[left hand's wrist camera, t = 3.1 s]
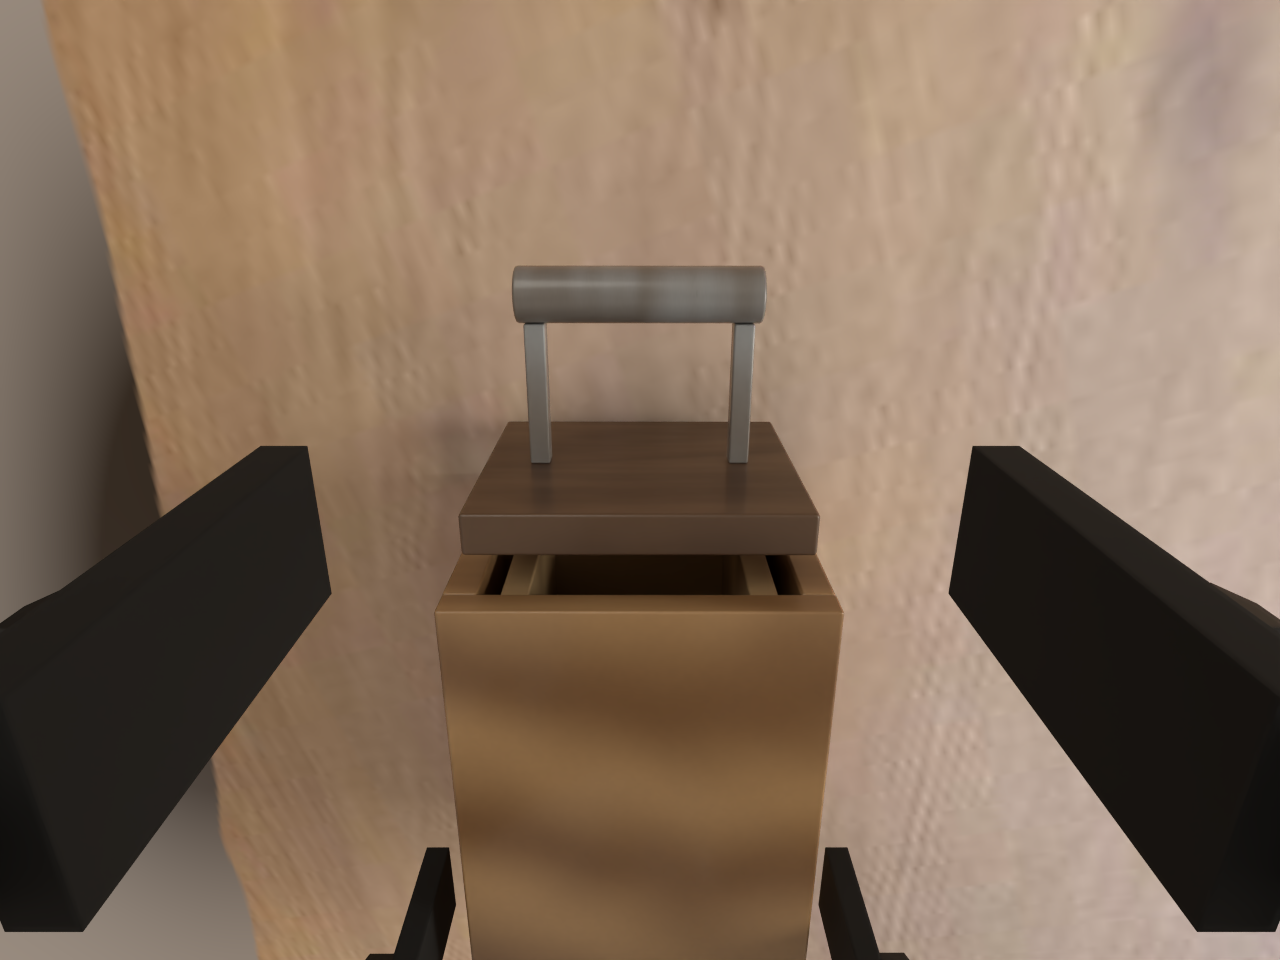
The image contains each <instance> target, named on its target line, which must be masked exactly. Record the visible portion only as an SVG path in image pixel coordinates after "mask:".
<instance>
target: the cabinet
mask: <svg viewBox="0 0 1280 960" xmlns="http://www.w3.org/2000/svg"><path fill="white" fill-rule="evenodd" d="M513 556H514V555H464V554H463V553H462V554H461V556H460V558H459V560H458V563H457V565H456V567H455V569H454V571H453V573H452V575H451V577H450V579H449V582H448V584H447V586H446V588H445V590H444V592H443V596H442V597H441V599H440V602H439V604H438V606H437V608H436V610H435V613H434V614H435V623H436V633H437V642H438V651H439V660H440V669H441V679H442V688H443V697H444V706H445V715H446V724H447V734H448V743H449V752H450V761H451V770H452V779H453V789H454V798H455V807H456V816H457V825H458V834H459V844H460V853H461V862H462V871H463V880H464V890H465V899H466V908H467V917H468V926H469V935H470V945H471V954H472V960H806V954H807V945H808V936H809V926H810V917H811V908H812V899H813V890H814V881H815V872H816V863H817V854H818V844H819V835H820V826H821V817H822V808H823V799H824V790H825V781H826V772H827V763H828V753H829V744H830V735H831V726H832V717H833V708H834V699H835V690H836V681H837V672H838V662H839V653H840V644H841V635H842V626H843V617H844V612H843V610H842V608H841V606H840V603H839V601H838V599H837V597H836V596H835V593H834V591H833V589H832V587H831V585H830V583H829V580H828V578H827V576H826V574H825V572H824V570H823V568H822V565H821V563H820V561H819V559H818V557H817V555H816V554H815V555H765V557H766V560H767V563H768V566H769V569H770V572H771V576H772V579H773V582H774V585H775V588H776V591H777V594H778V595H501V592H502V589H503V586H504V583H505V580H506V577H507V574H508V571H509V568H510V565H511V562H512V559H513Z"/></svg>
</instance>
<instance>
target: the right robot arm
mask: <svg viewBox="0 0 1280 960" xmlns="http://www.w3.org/2000/svg"><path fill="white" fill-rule="evenodd" d="M455 907H456V901H455V893H454V884H453V876H452V868H451V859H450V851H449V848H427V849H426V853H425V856H424V859H423V862H422V865H421V869H420V872H419V875H418V878H417V882H416V885H415V888H414V891H413V895H412V898H411V901H410V904H409V907H408V911H407V914H406V917H405V920H404V924H403V927H402V930H401V933H400V936H399V940H398V943H397V946H396V949H395V953H394V954H370V955H369V956H368V957H367V958H366V960H442V959H443V955H444V951H445V947H446V943H447V939H448V935H449V931H450V927H451V923H452V919H453V915H454V911H455ZM819 908H820V913H821V917H822V921H823V925H824V929H825V933H826V937H827V942H828V946H829V950H830V954H831V958H832V960H909V959H908V957H907V956H906V955H905V954H904V953H879V950H878V947H877V943H876V940H875V937H874V934H873V930H872V927H871V924H870V920H869V917H868V914H867V910H866V907H865V904H864V901H863V897H862V894H861V891H860V887H859V884H858V881H857V878H856V874H855V871H854V868H853V864H852V861H851V858H850V855H849V851H848V848H825V855H824V864H823V872H822V880H821V889H820V897H819Z"/></svg>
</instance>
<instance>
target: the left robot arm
mask: <svg viewBox="0 0 1280 960" xmlns="http://www.w3.org/2000/svg"><path fill="white" fill-rule="evenodd" d="M330 595H331V587H330V581H329V575H328V569H327V563H326V557H325V551H324V545H323V539H322V533H321V526H320V520H319V514H318V508H317V502H316V496H315V490H314V484H313V478H312V471H311V465H310V459H309V453H308V447H307V446H260V447H259V448H257V449H256V450H254V451H253V452H252V453H250V454H249V455H248V456H246V457H245V458H243V459H242V460H241V461H239V462H238V463H236V464H235V465H234V466H232V467H231V468H229V469H228V470H227V471H225V472H224V473H222V474H221V475H220V476H218V477H217V478H216V479H214V480H213V481H211V482H210V483H209V484H207V485H206V486H204V487H203V488H202V489H200V490H199V491H197V492H196V493H195V494H193V495H192V496H190V497H189V498H188V499H186V500H185V501H183V502H182V503H181V504H179V505H178V506H177V507H175V508H174V509H172V510H171V511H170V512H168V513H167V514H165V515H164V516H163V517H161V518H160V519H158V520H157V521H156V522H154V523H153V524H151V525H150V526H149V527H147V528H146V529H145V530H143V531H142V532H140V533H139V534H138V535H136V536H135V537H133V538H132V539H131V540H129V541H128V542H126V543H125V544H124V545H122V546H121V547H120V548H118V549H117V550H115V551H114V552H113V553H111V554H110V555H108V556H107V557H106V558H104V559H103V560H101V561H100V562H99V563H97V564H96V565H94V566H93V567H92V568H90V569H89V570H88V571H86V572H85V573H83V574H82V575H80V576H79V577H78V578H76V579H75V580H74V581H72V582H71V583H69V584H68V585H67V586H65V587H64V588H62V589H61V590H59V591H57V592H55V593H53V594H51V595H48V596H46V597H44V598H42V599H40V600H37V601H35V602H33V603H31V604H29V605H26V606H24V607H23V608H21V609H20V610H18V611H17V612H16V613H14V614H13V615H11V616H10V617H9V618H7V619H6V620H4V621H3V622H1V623H0V921H1V924H2V926H3V929H4V931H5V932H83V931H84V930H85V928H86V927H87V925H88V924H89V923H90V921H91V920H92V919H93V917H94V916H95V915H96V913H97V912H98V911H99V909H100V908H101V907H102V905H103V904H104V902H105V901H106V900H107V898H108V897H109V896H110V894H111V893H112V891H113V890H114V889H115V887H116V886H117V885H118V883H119V882H120V881H121V879H122V878H123V877H124V875H125V874H126V872H127V871H128V870H129V868H130V867H131V866H132V864H133V863H134V862H135V860H136V859H137V858H138V856H139V855H140V853H141V852H142V851H143V849H144V848H145V847H146V845H147V844H148V843H149V841H150V840H151V838H152V837H153V836H154V834H155V833H156V832H157V830H158V829H159V828H160V826H161V825H162V823H163V822H164V821H165V819H166V818H167V817H168V815H169V814H170V813H171V811H172V810H173V809H174V807H175V806H176V804H177V803H178V802H179V800H180V799H181V798H182V796H183V795H184V794H185V792H186V791H187V789H188V788H189V787H190V785H191V784H192V783H193V781H194V780H195V779H196V777H197V776H198V774H199V773H200V772H201V770H202V769H203V768H204V766H205V765H206V764H207V762H208V761H209V760H210V758H211V757H212V755H213V754H214V753H215V751H216V750H217V749H218V747H219V746H220V745H221V743H222V742H223V740H224V739H225V738H226V736H227V735H228V734H229V732H230V731H231V730H232V728H233V727H234V725H235V724H236V723H237V721H238V720H239V719H240V717H241V716H242V715H243V713H244V712H245V711H246V709H247V708H248V706H249V705H250V704H251V702H252V701H253V700H254V698H255V697H256V696H257V694H258V693H259V691H260V690H261V689H262V687H263V686H264V685H265V683H266V682H267V681H268V679H269V678H270V676H271V675H272V674H273V672H274V671H275V670H276V668H277V667H278V666H279V664H280V663H281V662H282V660H283V659H284V657H285V656H286V655H287V653H288V652H289V651H290V649H291V648H292V647H293V645H294V644H295V642H296V641H297V640H298V638H299V637H300V636H301V634H302V633H303V632H304V630H305V629H306V627H307V626H308V625H309V623H310V622H311V621H312V619H313V618H314V617H315V615H316V614H317V613H318V611H319V610H320V608H321V607H322V606H323V604H324V603H325V602H326V600H327V599H328V598H329V596H330ZM949 595H950V596H951V598H952V599H953V600H954V602H955V603H956V604H957V606H958V607H959V608H960V610H961V611H962V613H963V614H964V615H965V617H966V618H967V619H968V621H969V622H970V623H971V625H972V626H973V627H974V629H975V630H976V632H977V633H978V634H979V636H980V637H981V638H982V640H983V641H984V642H985V644H986V645H987V647H988V648H989V649H990V651H991V652H992V653H993V655H994V656H995V657H996V659H997V660H998V662H999V663H1000V664H1001V666H1002V667H1003V668H1004V670H1005V671H1006V672H1007V674H1008V675H1009V676H1010V678H1011V679H1012V681H1013V682H1014V683H1015V685H1016V686H1017V687H1018V689H1019V690H1020V691H1021V693H1022V694H1023V696H1024V697H1025V698H1026V700H1027V701H1028V702H1029V704H1030V705H1031V706H1032V708H1033V709H1034V711H1035V712H1036V713H1037V715H1038V716H1039V717H1040V719H1041V720H1042V721H1043V723H1044V724H1045V725H1046V727H1047V728H1048V730H1049V731H1050V732H1051V734H1052V735H1053V736H1054V738H1055V739H1056V740H1057V742H1058V743H1059V745H1060V746H1061V747H1062V749H1063V750H1064V751H1065V753H1066V754H1067V755H1068V757H1069V758H1070V760H1071V761H1072V762H1073V764H1074V765H1075V766H1076V768H1077V769H1078V770H1079V772H1080V773H1081V774H1082V776H1083V777H1084V779H1085V780H1086V781H1087V783H1088V784H1089V785H1090V787H1091V788H1092V789H1093V791H1094V792H1095V794H1096V795H1097V796H1098V798H1099V799H1100V800H1101V802H1102V803H1103V804H1104V806H1105V807H1106V809H1107V810H1108V811H1109V813H1110V814H1111V815H1112V817H1113V818H1114V819H1115V821H1116V822H1117V823H1118V825H1119V826H1120V828H1121V829H1122V830H1123V832H1124V833H1125V834H1126V836H1127V837H1128V838H1129V840H1130V841H1131V843H1132V844H1133V845H1134V847H1135V848H1136V849H1137V851H1138V852H1139V853H1140V855H1141V856H1142V858H1143V859H1144V860H1145V862H1146V863H1147V864H1148V866H1149V867H1150V868H1151V870H1152V871H1153V872H1154V874H1155V875H1156V877H1157V878H1158V879H1159V881H1160V882H1161V883H1162V885H1163V886H1164V887H1165V889H1166V890H1167V892H1168V893H1169V894H1170V896H1171V897H1172V898H1173V900H1174V901H1175V902H1176V904H1177V905H1178V907H1179V908H1180V909H1181V911H1182V912H1183V913H1184V915H1185V916H1186V917H1187V919H1188V920H1189V921H1190V923H1191V924H1192V926H1193V927H1194V928H1195V930H1196V931H1197V932H1275V931H1276V929H1277V926H1278V924H1279V921H1280V619H1278V618H1277V617H1275V616H1274V615H1273V614H1271V613H1270V612H1268V611H1267V610H1265V609H1264V608H1263V607H1261V606H1260V605H1258V604H1257V603H1255V602H1252V601H1250V600H1248V599H1246V598H1243V597H1241V596H1239V595H1237V594H1235V593H1232V592H1230V591H1228V590H1226V589H1223V588H1221V587H1219V586H1217V585H1215V584H1212V583H1209V582H1208V581H1206V580H1205V579H1204V578H1202V577H1201V576H1200V575H1198V574H1197V573H1195V572H1194V571H1193V570H1191V569H1190V568H1188V567H1187V566H1186V565H1184V564H1183V563H1181V562H1180V561H1179V560H1177V559H1176V558H1174V557H1173V556H1172V555H1170V554H1169V553H1168V552H1166V551H1165V550H1163V549H1162V548H1161V547H1159V546H1158V545H1156V544H1155V543H1154V542H1152V541H1151V540H1149V539H1148V538H1147V537H1145V536H1144V535H1142V534H1141V533H1140V532H1138V531H1137V530H1135V529H1134V528H1133V527H1131V526H1130V525H1129V524H1127V523H1126V522H1124V521H1123V520H1122V519H1120V518H1119V517H1117V516H1116V515H1115V514H1113V513H1112V512H1110V511H1109V510H1108V509H1106V508H1105V507H1103V506H1102V505H1101V504H1099V503H1098V502H1097V501H1095V500H1094V499H1092V498H1091V497H1090V496H1088V495H1087V494H1085V493H1084V492H1083V491H1081V490H1080V489H1078V488H1077V487H1076V486H1074V485H1073V484H1071V483H1070V482H1069V481H1067V480H1066V479H1065V478H1063V477H1062V476H1060V475H1059V474H1058V473H1056V472H1055V471H1053V470H1052V469H1051V468H1049V467H1048V466H1046V465H1045V464H1044V463H1042V462H1041V461H1039V460H1038V459H1037V458H1035V457H1034V456H1032V455H1031V454H1030V453H1028V452H1027V451H1026V450H1024V449H1023V448H1021V447H1020V446H973V447H972V453H971V459H970V465H969V472H968V478H967V484H966V490H965V496H964V502H963V508H962V514H961V520H960V527H959V533H958V539H957V545H956V551H955V557H954V563H953V569H952V575H951V581H950V588H949Z"/></svg>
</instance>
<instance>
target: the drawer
mask: <svg viewBox="0 0 1280 960" xmlns="http://www.w3.org/2000/svg"><path fill="white" fill-rule="evenodd" d="M766 299H767V279H766V272H765V269H764V267H762V266H516V267H515V268H514V271H513V277H512V302H513V311H514V316H515V319H516V321H517V322H518V323H525V324H524V345H525V363H526V382H527V401H528V420H529V422H508V424H507V426H506V428H505V429H504V431H503V433H502V435H501V437H500V439H499V441H498V443H497V444H496V446H495V448H494V450H493V452H492V454H491V456H490V458H489V460H488V461H487V463H486V465H485V467H484V469H483V471H482V473H481V475H480V476H479V478H478V480H477V482H476V484H475V486H474V488H473V490H472V491H471V493H470V495H469V497H468V499H467V501H466V503H465V505H464V506H463V508H462V510H461V512H460V514H459V528H460V539H461V549H462V553H463V554H464V555H514V556H513V559H512V562H511V565H510V568H509V571H508V574H507V577H506V580H505V583H504V586H503V589H502V592H501V595H778V594H777V591H776V588H775V585H774V582H773V579H772V576H771V572H770V569H769V566H768V563H767V560H766V557H765V555H815V554H816V552H817V543H818V532H819V521H820V516H819V513H818V512H817V510H816V508H815V506H814V504H813V502H812V500H811V498H810V496H809V494H808V493H807V491H806V489H805V487H804V485H803V483H802V481H801V479H800V477H799V475H798V474H797V472H796V470H795V468H794V466H793V464H792V462H791V460H790V458H789V457H788V455H787V453H786V451H785V449H784V447H783V445H782V443H781V441H780V439H779V438H778V436H777V434H776V432H775V430H774V428H773V426H772V424H771V423H770V422H750V414H751V395H752V377H753V359H754V340H755V325H754V323H761V322H762V321H763V318H764V315H765V309H766ZM547 323H732V344H731V367H730V390H729V413H728V422H551V417H550V394H549V370H548V346H547Z"/></svg>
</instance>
